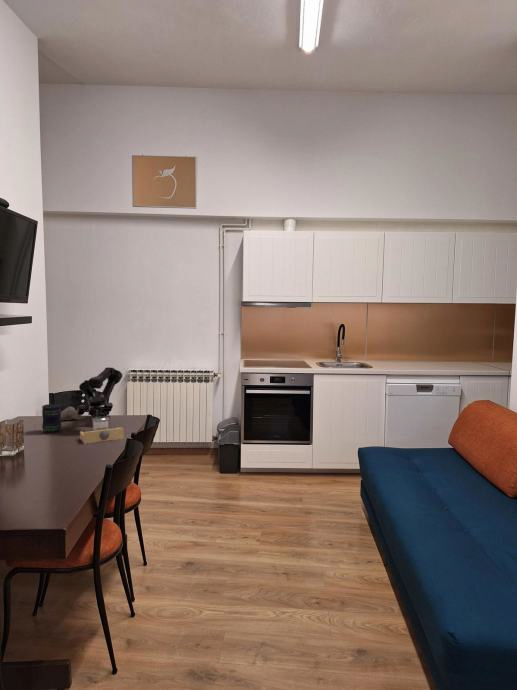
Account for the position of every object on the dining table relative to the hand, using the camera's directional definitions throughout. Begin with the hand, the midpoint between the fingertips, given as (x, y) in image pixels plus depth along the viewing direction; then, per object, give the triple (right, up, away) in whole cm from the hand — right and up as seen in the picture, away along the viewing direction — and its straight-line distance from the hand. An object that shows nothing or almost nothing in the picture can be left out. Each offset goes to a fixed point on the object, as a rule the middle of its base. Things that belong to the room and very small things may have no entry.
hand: (98, 421), depth 269 cm
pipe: (-31, -4, +33) cm, 45 cm away
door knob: (+3, -8, -6) cm, 11 cm away
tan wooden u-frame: (+5, -8, -9) cm, 13 cm away
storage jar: (-27, -7, +4) cm, 28 cm away
